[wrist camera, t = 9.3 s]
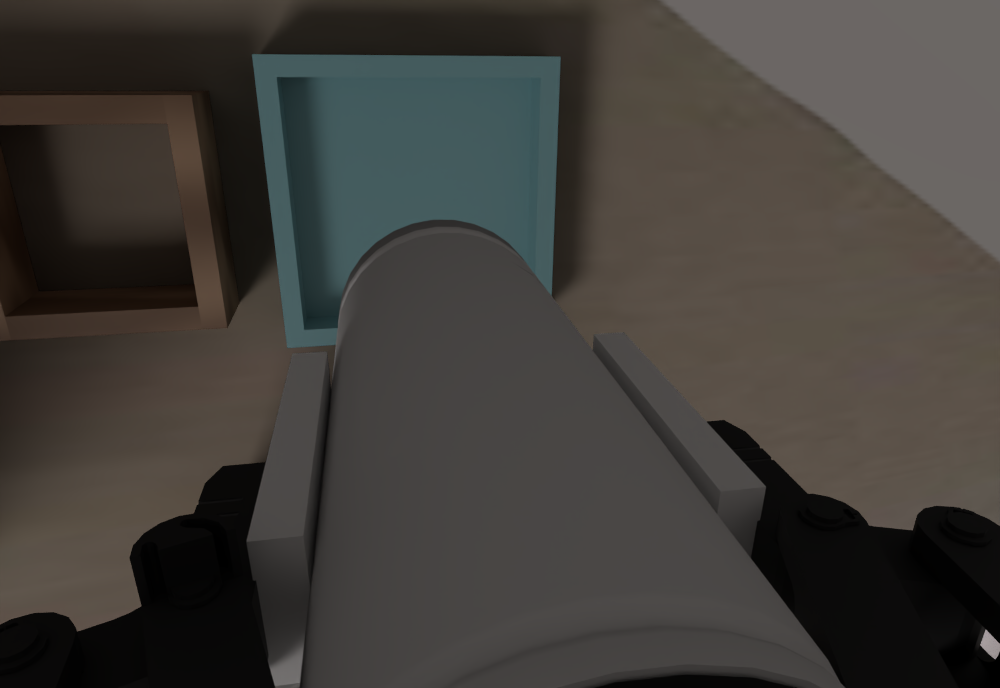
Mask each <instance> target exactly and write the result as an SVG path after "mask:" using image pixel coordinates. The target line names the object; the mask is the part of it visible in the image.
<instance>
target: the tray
mask: <svg viewBox="0 0 1000 688" xmlns="http://www.w3.org/2000/svg"><path fill="white" fill-rule="evenodd" d="M252 59H253V67H254V75H255V84H256V92H257V100H258V109H259V117H260V125H261V134H262V142H263V150H264V158H265V167H266V175H267V183H268V192H269V200H270V208H271V217H272V225H273V233H274V242H275V250H276V258H277V266H278V275H279V283H280V291H281V300H282V308H283V316H284V325H285V333H286V341H287V348H295V347H311V346H327V345H336V338H337V330H338V320H339V310H340V305H341V299H342V293H343V290H344V287H345V285H346V282H347V280H348V278H349V275H350V273H351V271H352V270H353V268H354V267H355V266H356V264H357V263H358V261H359V260H360V258H361V257H362V256H363V255H364V254H365V253H366V252H367V251H368V250H369V249H370V248H371V247H372V246H373V245H374V244H375V243H376V242H377V241H379V240H381V239H382V238H384V237H385V236H387V235H388V234H390V233H391V232H393V231H395V230H398V229H400V228H403V227H405V226H408V225H410V224H413V223H418V222H423V221H428V220H458V221H462V222H467V223H472V224H475V225H478V226H480V227H482V228H485V229H487V230H489V231H492V232H494V233H495V234H496V235H498V236H499V237H501V238H502V239H504V240H505V241H506V242H508V243H509V244H510V245H511V246H512V247H513V248H514V249H515V250H516V251H517V252H518V253H519V255H520V256H521V257H522V258H523V259H524V261H525V262H526V263H527V264H528V266H529V267H530V269H531V270H532V271H533V272H534V274H535V275H536V276H537V278H538V279H539V280H540V282H541V283H542V284H543V286H544V287H545V288H546V289H547V291H548V292H549V293H550V295H551V296H552V273H553V247H554V220H555V194H556V167H557V141H558V114H559V88H560V61H561V57H556V56H428V55H295V54H252Z"/></svg>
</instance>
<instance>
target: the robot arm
mask: <svg viewBox="0 0 1000 688" xmlns="http://www.w3.org/2000/svg"><path fill="white" fill-rule="evenodd" d="M593 351H594V353H595V354H596V355H597V357H598V358H599V359H600V361H601V362H602V363H603V364H604V366H605V367H606V368H607V370H608V371H609V372H610V374H611V375H612V376H613V378H614V379H615V380H616V382H617V383H618V384H619V386H620V387H621V388H622V389H623V391H624V392H625V393H626V395H627V396H628V397H629V399H630V400H631V401H632V403H633V404H634V405H635V407H636V408H637V409H638V411H639V412H640V413H641V414H642V416H643V417H644V418H645V420H646V421H647V422H648V424H649V425H650V426H651V428H652V429H653V430H654V432H655V433H656V434H657V436H658V437H659V438H660V439H661V441H662V442H663V443H664V445H665V446H666V447H667V449H668V450H669V451H670V453H671V454H672V455H673V457H674V458H675V459H676V461H677V462H678V463H679V464H680V466H681V467H682V468H683V470H684V471H685V472H686V474H687V475H688V476H689V478H690V479H691V480H692V482H693V483H694V484H695V486H696V487H697V488H698V489H699V491H700V492H701V493H702V495H703V496H704V497H705V499H706V500H707V501H708V503H709V504H710V505H711V507H712V508H713V509H714V511H715V512H716V513H717V514H718V516H719V517H720V518H721V520H722V521H723V522H724V524H725V525H726V526H727V528H728V529H729V530H730V532H731V533H732V534H733V536H734V537H735V538H736V539H737V541H738V542H739V543H740V545H741V546H742V547H743V549H744V550H745V551H746V553H747V554H748V555H749V557H750V558H751V559H752V561H753V562H754V563H755V564H756V566H757V567H758V568H759V570H760V571H761V572H762V574H763V575H764V576H765V578H766V579H767V580H768V582H769V583H770V584H771V586H772V587H773V588H774V589H775V591H776V592H777V593H778V595H779V596H780V597H781V599H782V600H783V601H784V603H785V604H786V605H787V607H788V608H789V609H790V611H791V612H792V613H793V614H794V616H795V617H796V618H797V620H798V621H799V622H800V624H801V625H802V626H803V628H804V629H805V630H806V632H807V633H808V634H809V636H810V637H811V638H812V639H813V641H814V642H815V643H816V645H817V646H818V647H819V649H820V650H821V651H822V653H823V654H824V655H825V657H826V658H827V659H828V661H829V663H830V665H831V666H832V668H833V670H834V672H835V674H836V676H837V677H838V679H839V681H840V683H841V684H842V685H843V686H844V687H845V688H1000V652H999V655H998V657H997V658H996V660H995V659H994V658H993V657H991V656H990V655H989V654H988V653H987V652H986V651H985V650H984V649H983V648H982V647H981V646H980V644H981V641H982V638H983V635H984V632H985V630H987V631H988V632H989V633H990V634H991V635H992V636H993V637H994V638H995V639H996V640H997V641H998V642H999V643H1000V526H999V525H997V524H996V523H994V522H992V521H991V520H989V519H987V518H985V517H983V516H980V515H978V514H976V513H974V512H972V511H969V510H966V509H961V508H957V507H945V506H934V507H929V508H925V509H923V510H922V511H921V512H920V513H919V514H918V515H917V518H916V521H915V525H914V528H913V531H912V530H903V529H893V528H883V527H874V526H869V525H868V523H867V521H866V520H865V519H864V518H863V517H862V515H861V514H860V513H859V512H858V511H857V510H855V509H853V508H852V507H850V506H849V505H847V504H846V503H844V502H841V501H838V500H836V499H833V498H831V497H827V496H822V495H816V494H807V493H806V492H805V491H804V490H803V489H802V488H801V487H800V486H799V485H798V484H797V483H796V482H795V481H794V480H793V479H792V478H791V477H790V476H789V475H788V474H787V473H786V472H785V471H784V470H783V469H782V468H781V467H780V466H779V465H778V464H777V463H776V462H775V461H774V460H771V457H770V456H769V455H768V454H767V453H766V452H765V451H764V450H763V449H760V446H759V445H758V444H757V443H756V442H755V441H754V440H753V439H752V438H751V437H750V436H749V435H748V434H747V433H746V432H745V431H743V430H741V429H740V428H738V427H736V426H734V425H732V424H730V423H728V422H726V421H725V420H719V421H708V422H706V421H705V420H704V419H703V418H702V417H701V415H700V414H699V413H698V412H697V411H696V410H695V409H694V408H693V407H692V406H691V405H690V404H689V402H688V401H687V400H686V399H685V398H684V397H683V396H682V395H681V394H680V393H679V392H678V390H677V389H676V388H675V387H674V386H673V385H672V384H671V383H670V382H669V381H668V380H667V379H666V377H665V376H664V375H663V374H662V373H661V372H660V371H659V370H658V369H657V368H656V367H655V365H654V364H653V363H652V362H651V361H650V360H649V359H648V358H647V357H646V356H645V355H644V354H643V352H642V351H641V350H640V349H639V348H638V347H637V346H636V345H635V344H634V343H633V342H632V340H631V339H630V338H629V337H628V336H627V335H626V334H625V333H624V332H622V333H607V334H594V341H593ZM330 397H331V384H330V375H329V365H328V355H327V352H312V353H296V354H292V358H291V362H290V366H289V370H288V374H287V378H286V382H285V386H284V390H283V394H282V398H281V402H280V407H279V411H278V415H277V419H276V423H275V427H274V431H273V435H272V439H271V443H270V447H269V451H268V456H267V460H266V462H264V463H253V464H242V465H230V466H223V467H222V468H221V469H220V470H218V471H217V472H216V473H215V474H214V475H213V476H212V477H211V478H210V479H209V480H208V481H207V482H206V483H205V485H204V488H203V491H202V493H201V496H200V499H199V505H197V507H196V509H195V512H194V514H189V515H183V516H178V517H175V518H173V519H170V520H167V521H165V522H162V523H160V524H158V525H157V526H155V527H153V528H152V529H150V530H149V531H147V532H146V533H144V534H143V535H142V536H141V537H140V538H139V540H138V541H137V542H136V543H135V544H134V545H133V548H132V551H131V555H130V562H131V565H132V569H133V573H134V577H135V581H136V585H137V589H138V593H139V597H140V601H141V605H142V606H141V607H139V608H138V609H136V610H134V611H132V612H131V613H129V614H126V615H124V616H121V617H119V618H117V619H114V620H111V621H108V622H105V623H102V624H99V625H96V626H93V627H90V628H87V629H84V630H81V631H78V632H77V630H76V627H75V626H74V624H73V623H72V621H71V620H70V619H69V617H66V616H63V615H60V614H57V613H54V612H50V613H33V614H29V615H25V616H22V617H18V618H14V619H11V620H9V621H7V622H5V623H3V624H1V625H0V688H275V686H280V685H287V684H294V683H300V677H301V668H302V659H303V649H304V640H305V630H306V621H307V611H308V602H309V594H310V587H311V577H312V568H313V558H314V549H315V539H316V530H317V520H318V511H319V501H320V492H321V482H322V473H323V463H324V454H325V444H326V435H327V425H328V416H329V406H330Z"/></svg>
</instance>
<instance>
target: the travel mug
mask: <svg viewBox="0 0 1000 688" xmlns="http://www.w3.org/2000/svg"><path fill="white" fill-rule="evenodd" d="M299 688H845V687H844V686H843V685H842V684H841V683H840V681H839V679H838V677H837V676H836V674H835V672H834V670H833V668H832V666H831V665H830V663H829V661H828V659H827V658H826V657H825V655H824V654H823V653H822V651H821V650H820V649H819V647H818V646H817V645H816V643H815V642H814V641H813V639H812V638H811V637H810V636H809V634H808V633H807V632H806V630H805V629H804V628H803V626H802V625H801V624H800V622H799V621H798V620H797V618H796V617H795V616H794V614H793V613H792V612H791V611H790V609H789V608H788V607H787V605H786V604H785V603H784V601H783V600H782V599H781V597H780V596H779V595H778V593H777V592H776V591H775V589H774V588H773V587H772V586H771V584H770V583H769V582H768V580H767V579H766V578H765V576H764V575H763V574H762V572H761V571H760V570H759V568H758V567H757V566H756V564H755V563H754V562H753V561H752V559H751V558H750V557H749V555H748V554H747V553H746V551H745V550H744V549H743V547H742V546H741V545H740V543H739V542H738V541H737V539H736V538H735V537H734V536H733V534H732V533H731V532H730V530H729V529H728V528H727V526H726V525H725V524H724V522H723V521H722V520H721V518H720V517H719V516H718V514H717V513H716V512H715V511H714V509H713V508H712V507H711V505H710V504H709V503H708V501H707V500H706V499H705V497H704V496H703V495H702V493H701V492H700V491H699V489H698V488H697V487H696V486H695V484H694V483H693V482H692V480H691V479H690V478H689V476H688V475H687V474H686V472H685V471H684V470H683V468H682V467H681V466H680V464H679V463H678V462H677V461H676V459H675V458H674V457H673V455H672V454H671V453H670V451H669V450H668V449H667V447H666V446H665V445H664V443H663V442H662V441H661V439H660V438H659V437H658V436H657V434H656V433H655V432H654V430H653V429H652V428H651V426H650V425H649V424H648V422H647V421H646V420H645V418H644V417H643V416H642V414H641V413H640V412H639V411H638V409H637V408H636V407H635V405H634V404H633V403H632V401H631V400H630V399H629V397H628V396H627V395H626V393H625V392H624V391H623V389H622V388H621V387H620V386H619V384H618V383H617V382H616V380H615V379H614V378H613V376H612V375H611V374H610V372H609V371H608V370H607V368H606V367H605V366H604V364H603V363H602V362H601V361H600V359H599V358H598V357H597V355H596V354H595V353H594V351H593V350H592V349H591V347H590V346H589V345H588V343H587V342H586V341H585V339H584V338H583V337H582V336H581V334H580V333H579V332H578V330H577V329H576V328H575V326H574V325H573V324H572V322H571V321H570V320H569V318H568V317H567V316H566V314H565V313H564V312H563V311H562V309H561V308H560V307H559V305H558V304H557V303H556V301H555V300H554V299H553V297H552V296H551V295H550V293H549V292H548V291H547V289H546V288H545V287H544V286H543V284H542V283H541V282H540V280H539V279H538V278H537V276H536V275H535V274H534V272H533V271H532V270H531V269H530V267H529V266H528V264H527V263H526V262H525V261H524V259H523V258H522V257H521V256H520V255H519V253H518V252H517V251H516V250H515V249H514V248H513V247H512V246H511V245H510V244H509V243H508V242H506V241H505V240H504V239H502V238H501V237H499V236H498V235H496V234H495V233H494V232H492V231H489V230H487V229H485V228H482V227H480V226H478V225H475V224H472V223H467V222H462V221H458V220H428V221H423V222H418V223H413V224H410V225H408V226H405V227H403V228H400V229H398V230H395V231H393V232H391V233H390V234H388V235H387V236H385V237H384V238H382V239H381V240H379V241H377V242H376V243H375V244H374V245H373V246H372V247H371V248H370V249H369V250H368V251H367V252H366V253H365V254H364V255H363V256H362V257H361V258H360V260H359V261H358V263H357V264H356V266H355V267H354V268H353V270H352V271H351V273H350V275H349V278H348V280H347V282H346V285H345V287H344V290H343V293H342V299H341V305H340V310H339V320H338V330H337V338H336V348H335V357H334V367H333V376H332V385H331V397H330V406H329V416H328V425H327V435H326V444H325V454H324V463H323V473H322V482H321V492H320V501H319V511H318V520H317V530H316V539H315V549H314V558H313V568H312V577H311V587H310V594H309V602H308V611H307V621H306V630H305V640H304V649H303V659H302V668H301V677H300V687H299Z"/></svg>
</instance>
